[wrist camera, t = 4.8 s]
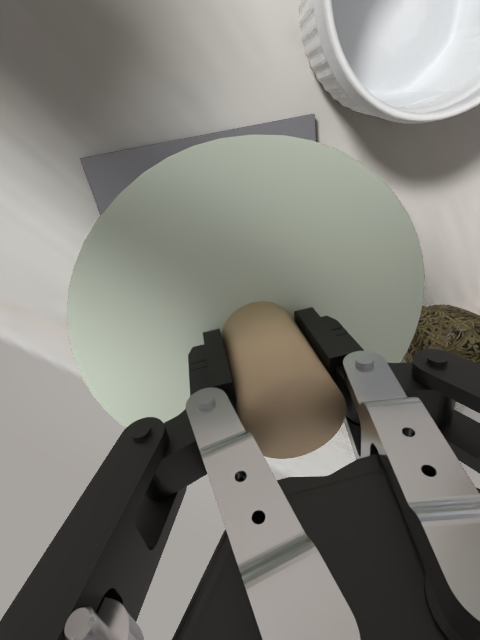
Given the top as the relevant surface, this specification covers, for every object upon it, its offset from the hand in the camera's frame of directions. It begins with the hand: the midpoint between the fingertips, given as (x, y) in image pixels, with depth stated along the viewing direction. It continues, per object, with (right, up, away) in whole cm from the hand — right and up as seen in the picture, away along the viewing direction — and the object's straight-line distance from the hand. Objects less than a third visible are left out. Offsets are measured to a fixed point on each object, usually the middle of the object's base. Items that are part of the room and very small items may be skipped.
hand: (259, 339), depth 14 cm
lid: (0, +1, +1) cm, 2 cm away
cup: (+16, +1, +19) cm, 25 cm away
